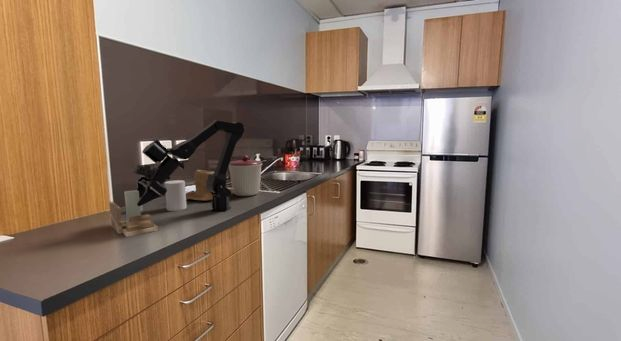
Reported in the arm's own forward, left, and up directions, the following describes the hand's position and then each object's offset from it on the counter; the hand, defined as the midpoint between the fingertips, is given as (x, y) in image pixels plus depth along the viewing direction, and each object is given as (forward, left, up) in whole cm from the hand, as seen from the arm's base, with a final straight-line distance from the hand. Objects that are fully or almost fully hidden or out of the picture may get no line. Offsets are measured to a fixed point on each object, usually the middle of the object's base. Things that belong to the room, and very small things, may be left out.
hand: (134, 203), depth 115 cm
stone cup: (-4, -43, -9) cm, 45 cm away
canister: (-22, -57, -9) cm, 62 cm away
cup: (-1, -25, -9) cm, 27 cm away
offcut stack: (-6, +6, -7) cm, 11 cm away
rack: (-1, +3, -8) cm, 9 cm away
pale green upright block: (0, +1, -8) cm, 9 cm away
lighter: (+13, -20, -9) cm, 26 cm away
